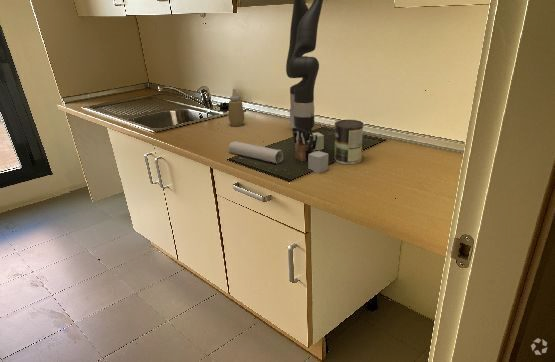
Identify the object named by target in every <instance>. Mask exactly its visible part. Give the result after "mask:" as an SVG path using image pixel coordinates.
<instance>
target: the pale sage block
mask: <svg viewBox="0 0 555 362" xmlns="http://www.w3.org/2000/svg"><path fill="white" fill-rule="evenodd" d="M312 134H313V135H317V142H316V148H315V149H314V150H313V152H315V150H318V151H323V150H322V149H324V148H325V147H324V146H325V144H324V141H325V135H324V134H322V133H320V132H317V131H316V132H312ZM308 142H309V141H308Z"/></svg>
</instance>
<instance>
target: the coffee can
mask: <svg viewBox="0 0 555 362" xmlns="http://www.w3.org/2000/svg"><path fill="white" fill-rule="evenodd" d="M363 131H364V122H363V121H361V120H356V119H340V120H337V121H335V123H334V154H333V155H334V156H333V160H334V159H335V160H336V161H335V160H334V161H335V162H336V163H339V164H342V165H354V164H355V165H356V164H358V163H360V162H361V161H362V149H363V147H362V146H363V135H364V133H363Z"/></svg>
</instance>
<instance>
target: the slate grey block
mask: <svg viewBox="0 0 555 362" xmlns="http://www.w3.org/2000/svg"><path fill="white" fill-rule="evenodd" d="M307 166H308V168H307V169H311V170H313V171H314V173H315V174H321V173H324V172H325V171H328V170H329V153H326V152H323V151H322V150H318V151H313V153H310V154H308V161H307ZM313 171H312V172H313Z"/></svg>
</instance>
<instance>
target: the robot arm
mask: <svg viewBox="0 0 555 362" xmlns="http://www.w3.org/2000/svg"><path fill="white" fill-rule="evenodd" d="M323 2H324V0H313V1H312V3H311V5H310V6H309V7H308V5H307V3H306V1H305V0H293V6H292V8H293V9H292V15H291V21H290V31H289V34H290V35H289V46H288V47H289V48H288V52H287V57H286V63H285V65H286V66H285V71H286V73H285V74H286V75H287V77H288V78H289V79H301V80H299V82H298V83H295V84H293V85H291V86H290V87H289V96H290V97H289V100H290V101H289V104H290V107H289V128H290V130H291V131H292V138H293V143H294V144H295V143H300V142H303V144H304V145H305V149H306V160H308V154H310V153H312V150H314V149H315V148H316V142H317V135H313V134H312V133H313V130H312V129H313V127H315V98H314V97H315V93H314V92H315V84H316V80H317V76H318V73H319V70H320V63H319V60H318V58H316V57H315V56H307V55H306V54H308V53H312V52H314V51H315V49H316V47H317V39H318V27H319V21H320V17H321V12H322V9H323V8H322V7H323ZM306 141H309V142H306ZM308 144H309V146H308ZM312 145H313V146H312Z"/></svg>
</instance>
